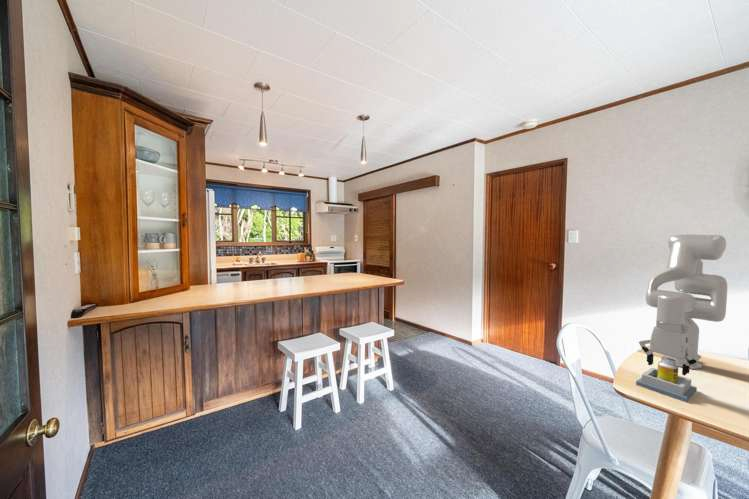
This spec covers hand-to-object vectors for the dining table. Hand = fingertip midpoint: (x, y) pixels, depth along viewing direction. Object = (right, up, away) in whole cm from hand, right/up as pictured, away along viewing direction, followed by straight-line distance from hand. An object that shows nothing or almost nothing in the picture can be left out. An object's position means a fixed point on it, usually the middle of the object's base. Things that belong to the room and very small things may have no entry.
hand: (666, 369), depth 114 cm
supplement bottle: (0, -6, 0) cm, 6 cm away
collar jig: (0, -8, 0) cm, 8 cm away
